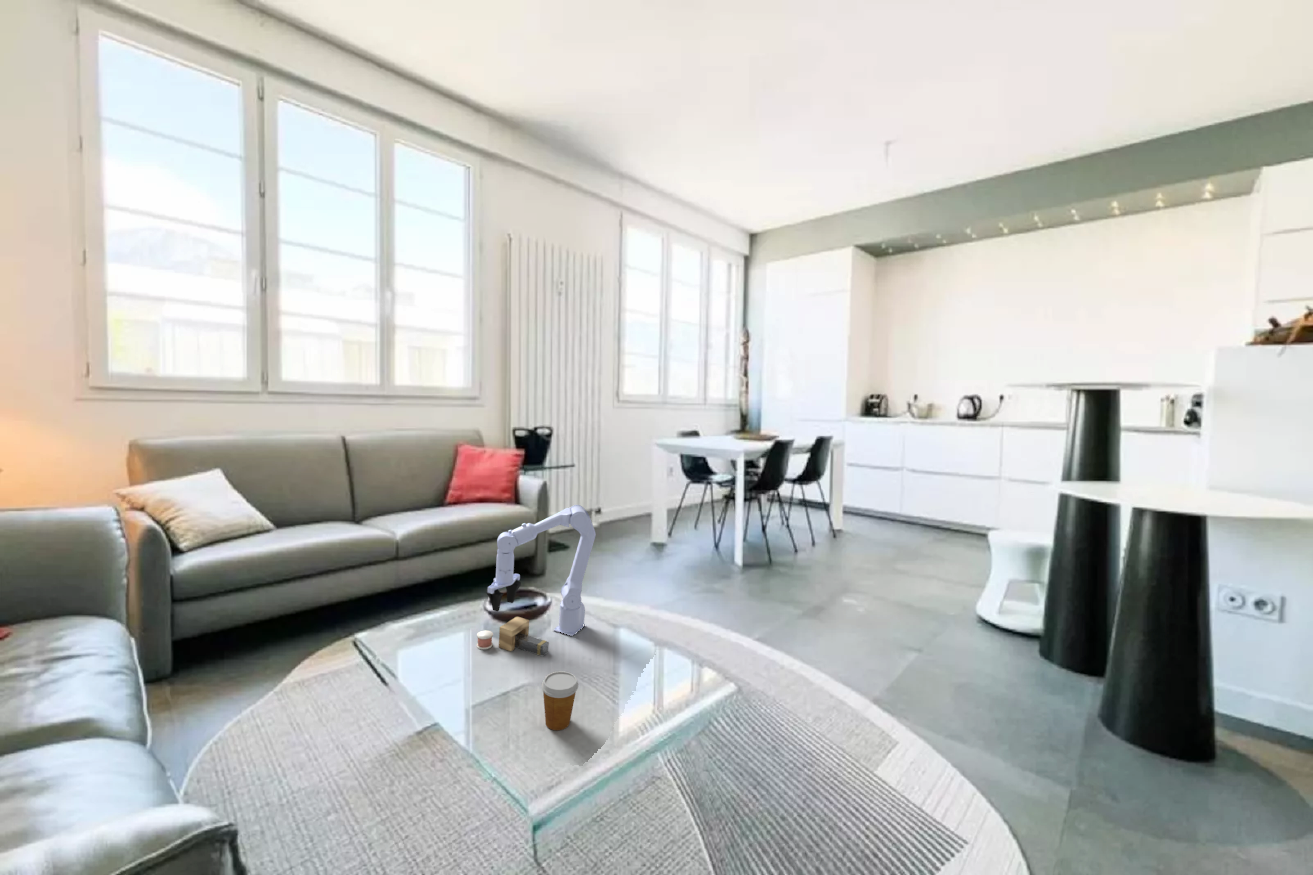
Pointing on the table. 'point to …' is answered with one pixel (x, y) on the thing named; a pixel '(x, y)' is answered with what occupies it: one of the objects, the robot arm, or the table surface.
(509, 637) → the wooden u-shaped cradle
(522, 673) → the table surface
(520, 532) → the robot arm
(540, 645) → the dark grey bar
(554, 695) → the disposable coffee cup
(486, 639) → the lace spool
